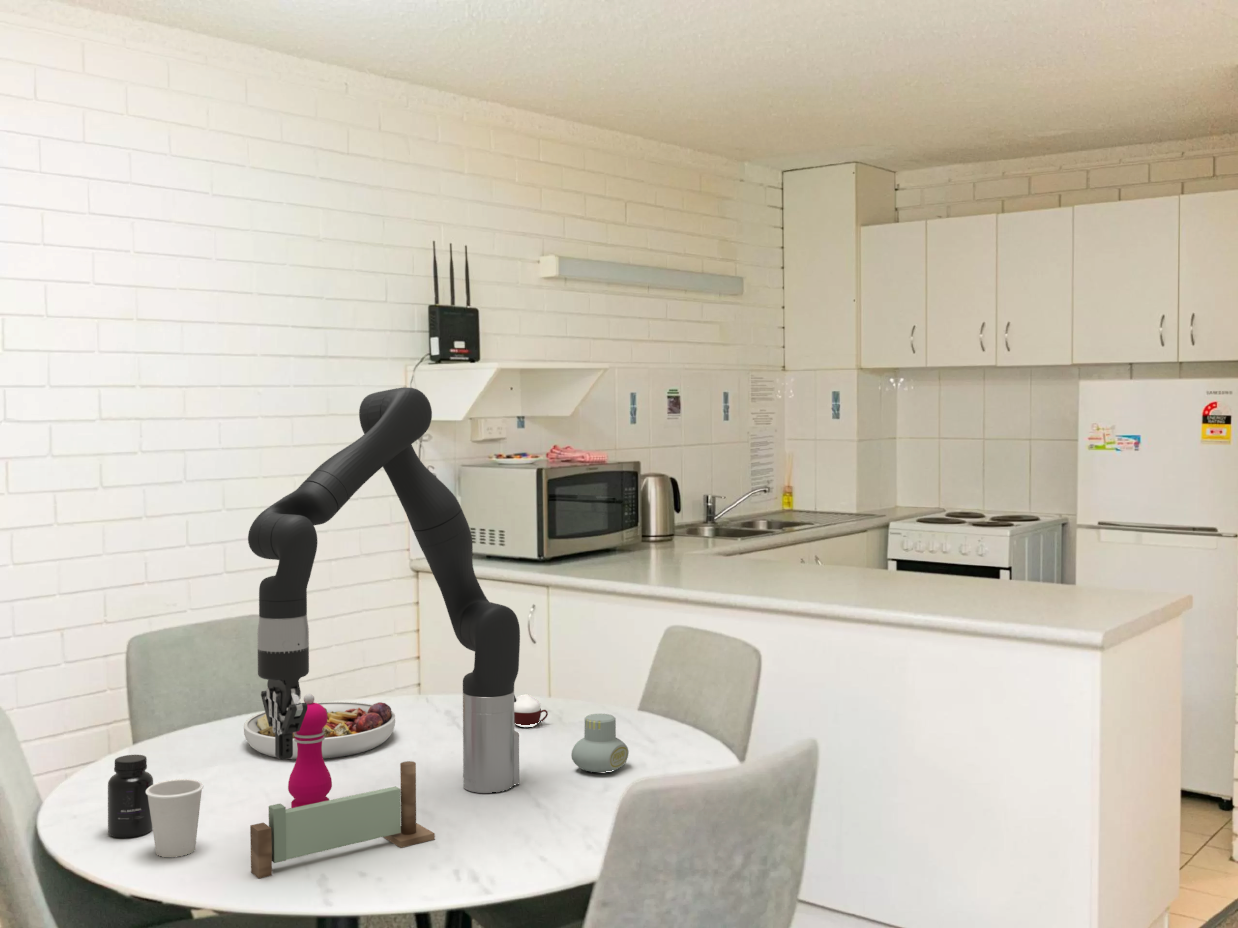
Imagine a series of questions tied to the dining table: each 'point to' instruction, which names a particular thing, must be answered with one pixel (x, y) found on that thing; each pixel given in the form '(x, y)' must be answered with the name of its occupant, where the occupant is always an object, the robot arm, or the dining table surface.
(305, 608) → the robot arm
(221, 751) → the dining table surface
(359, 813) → the panel
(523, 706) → the cocoa
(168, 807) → the dixie cup
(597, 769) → the air freshener
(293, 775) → the pepper mill
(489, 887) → the dining table surface
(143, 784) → the supplement bottle
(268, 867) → the wooden pieces
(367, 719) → the bowl
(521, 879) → the dining table surface
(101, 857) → the dining table surface
